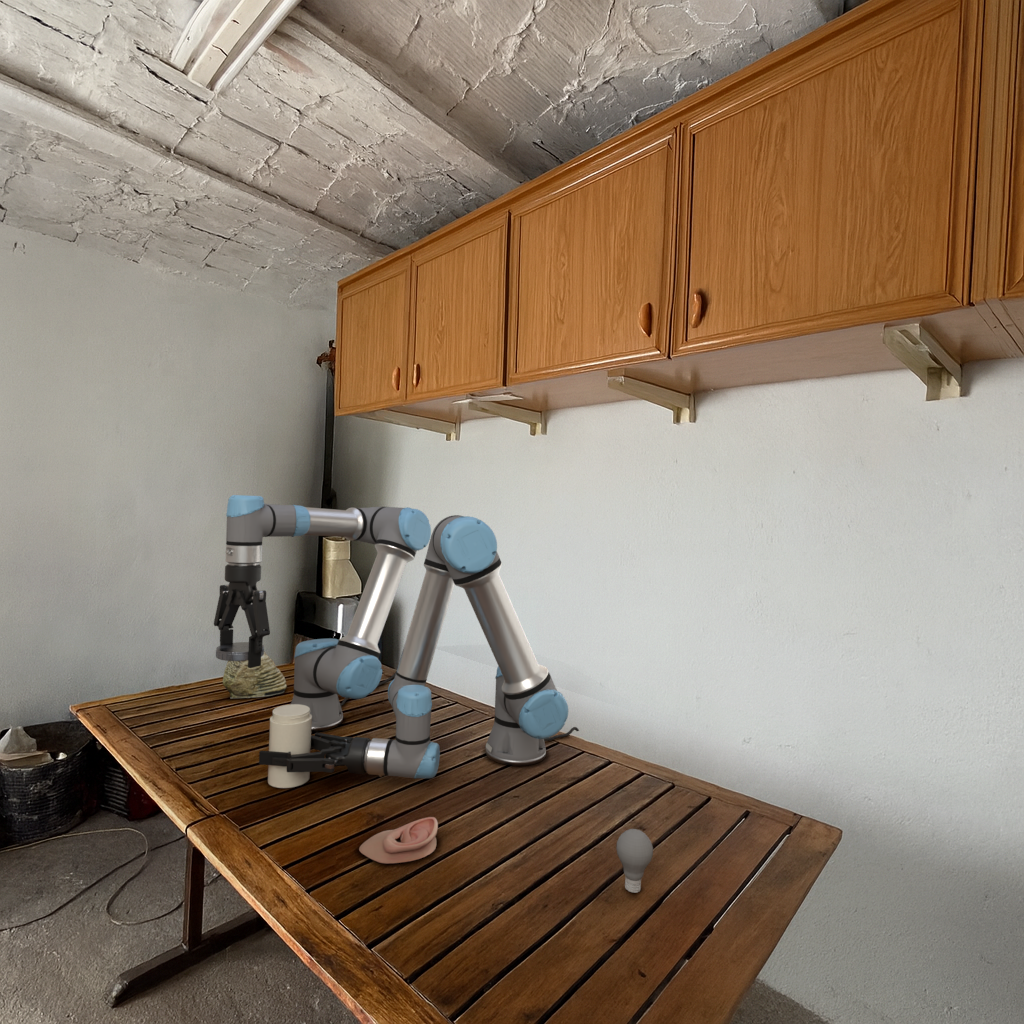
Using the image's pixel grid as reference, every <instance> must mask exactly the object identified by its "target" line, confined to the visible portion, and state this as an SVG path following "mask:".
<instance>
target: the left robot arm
mask: <svg viewBox="0 0 1024 1024" xmlns="http://www.w3.org/2000/svg"><path fill="white" fill-rule="evenodd" d="M225 516H226V531H225V532H226V533H225V534H226V535H225V562H226V563H227V564H226V565H224V581H225V582H227V583H228V584H220V585H219V595H218V601H217V605H216V610H215V615H214V620H213V626H214V627H217V628H218V630H219V646H220V645H224V644H229V643H234V625H233V623H234V621H235V619H236V616H237V614H238V611H239V609H240V608H241V610H242V611H244V614H245V618H246V622H247V625H248V629H249V633H250V636H249V637H248V642H249V652H248V668H253V667H257V666H261V652H262V645H263V643H264V642H263V639H264V637H266V636H267V637H268V636H270V635H271V629H270V623H269V614H268V607H267V591H266V590H259V589H258V588H257V584H258V582H260V581H261V579H262V565H261V564H260V563H261V562H263V538H268V537H269V538H270V537H274V538H275V537H278V538H279V537H290V538H295V537H301V536H315V537H317V536H319V537H337V538H339V537H340V538H344V539H346V540H347V541H352V542H355V541H356V542H360V543H361V542H362V543H367V544H370V545H374V548H375V550H376V553H377V554H376V557H375V559H374V562H373V565H372V567H371V570H370V573H369V575H368V578H367V581H366V583H365V586H364V588H363V592H362V594H361V597H360V598H359V602H358V604H357V607H356V609H355V612H354V615H353V617H352V620H351V623H350V625H349V628H348V632H347V634H346V635H345V636H342V637H341V638H339V639H337V638H331V637H329V638H317V639H316V638H315V639H308V640H304V641H300V642H299V643H298V644H297V645H296V646H295V650H294V651H295V652H294V655H293V658H294V672H293V695H292V696H293V697H292V699H291V702H290V704H300V705H305V706H308V707H309V708H310V714H311V715H312V731H311V733H319V732H325V731H329V730H332V729H335V728H337V727H339V726H340V725H342V723H343V722H344V714H343V709H342V706H344V705H345V704H346V702H347V701H348V700H349V699H352V700H361V699H365V698H366V697H367V696H369V695H371V694H372V693H373V692H374V691H375V690H376V688H377V687H379V686H381V685H384V684H386V683H388V682H389V681H392V680H393V679H394V678H395V675H396V672H397V670H396V671H395V672H394V673H393V674H392V675H391V676H390V677H388V678H387V679H385V680H382V677H383V669H382V662H381V661H380V659H379V658H380V655H381V650H380V648H379V645H378V644H379V642H380V638H381V636H382V633H383V630H384V628H385V624H386V621H387V620H388V617H389V614H390V611H391V608H392V606H393V602H394V599H395V598H396V594H397V591H398V588H399V586H400V583H401V580H402V578H403V574H404V572H405V569H406V567H407V564H408V563H409V562H412V561H414V560H415V557H416V554H417V552H419V551H421V550H423V549H424V548H426V547H427V546H428V545H429V542H430V539H431V535H432V526H431V524H430V520H429V518H428V516H427V515H426V514H425V513H424V511H422V510H420V509H418V508H412V507H398V506H396V507H395V506H371V507H348V508H347V509H333V508H319V507H311V506H310V507H309V506H303V505H298V504H297V505H296V504H277V503H265V499H264V497H263V496H262V495H245V494H244V495H241V494H232V495H230V496H229V498H228V501H227V506H226V514H225ZM381 680H382V681H381ZM339 696H341V697H342V698H344V699H343V700H342V702H340V699H339Z"/></svg>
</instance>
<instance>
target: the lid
mask: <svg viewBox="0 0 1024 1024" xmlns="http://www.w3.org/2000/svg"><path fill="white" fill-rule="evenodd" d="M248 652H249V641H239V642H238V641H237V642H233V643H229V644H224V645H220V644H219V645H218V646H217V647H216V649H215V658H216V659H217V660H221V661H226V662H228V661H245V660H248ZM264 652H265V646H264V644H262V652H261V657H262V656H263V655H264Z"/></svg>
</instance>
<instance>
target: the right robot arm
mask: <svg viewBox="0 0 1024 1024" xmlns="http://www.w3.org/2000/svg"><path fill="white" fill-rule="evenodd" d="M427 546H428V547H427V551H426V553H425V558H424V562H423V567H424V568H425V573H424V577H423V580H422V584H421V587H420V590H419V594H418V597H417V600H416V604H415V607H414V611H413V614H412V618H411V621H410V624H409V627H408V631H407V635H406V638H405V640H404V641H405V642H404V644H403V648H402V651H401V654H400V659H399V662H398V665H397V668H396V671H397V672H396V671H395V672H396V675H395V676H394V677H393V678H392V679H391V682H390V683H389V685H388V688H387V699H388V702H389V704H390V706H391V708H392V710H393V713H394V716H395V739H390V738H378V737H373V738H372V739H371V738H370V737H361V736H354V737H352V736H339V735H335V734H330V733H324V732H314V735H313V734H311V751H312V750H316V751H315V752H311V753H304V754H295V755H291V752H288V753H287V752H274V751H269V750H260V751H259V753H258V765H260V766H261V765H264V766H268V765H274V766H287V772H310V773H319V772H320V773H321V772H323V773H329V774H330V773H335V768H336V767H342V766H343V767H344V766H345V767H346V769H347V771H348V773H350V774H356V775H365V774H366V773H367V775H372V776H378V777H379V778H382V777H383V776H386V777H399V778H409V779H414V780H417V779H420V780H421V779H424V780H426V779H433V778H434V777H435V776H436V775H437V773H438V771H439V765H440V759H441V750H440V749H441V748H440V745H439V743H437V742H433V741H431V722H432V708H433V702H432V690H431V689H430V688H429V687H428V686H426V684H427V681H428V676H429V673H430V670H431V666H432V663H433V660H434V656H435V653H436V650H437V646H438V643H439V640H440V636H441V632H442V630H443V625H444V623H445V619H446V616H447V612H448V609H449V606H450V603H451V602H450V601H451V598H452V595H453V593H454V589H455V586H456V587H459V588H462V589H463V590H464V592H465V594H466V597H467V598H468V601H469V603H470V605H471V608H472V610H473V612H474V614H475V616H476V619H477V621H478V623H479V625H480V628H481V631H482V632H483V634H484V637H485V639H486V641H487V644H488V646H489V648H490V650H491V652H492V655H493V657H494V659H495V662H496V664H497V667H496V675H495V678H494V679H495V692H494V694H495V695H494V697H495V698H494V719H493V725H492V728H491V730H490V733H489V735H488V738H487V741H486V744H485V755H486V756H487V758H488V759H490V760H491V761H493V762H495V763H498V764H502V765H505V766H511V767H512V766H514V767H523V766H525V767H526V766H532V765H535V764H539V763H541V762H542V761H543V760H545V758H546V756H547V747H546V742H550V741H554V740H556V739H561V738H566V737H569V736H570V735H571V734H572V733H573V732H574V731H575V732H580V730H579V729H580V728H578V727H577V726H574V727H571V729H569V730H568V731H567V732H565V733H561V734H558V733H559V732H560V731H561V730H562V729H563V728H564V726H565V725H566V722H567V720H568V717H569V704H568V702H567V700H566V698H565V696H564V694H563V693H562V692H560V691H559V690H558V688H557V687H556V684H555V682H554V680H553V678H552V676H551V673H550V671H549V669H548V667H546V665H542V664H540V663H539V662H538V660H537V658H536V656H535V653H534V650H533V649H532V646H531V643H530V642H529V639H528V637H527V635H526V631H525V630H524V628H523V626H522V623H521V621H520V618H519V616H518V613H517V612H516V609H515V607H514V605H513V602H512V600H511V598H510V596H509V593H508V591H507V589H506V587H505V584H504V582H503V580H502V577H501V574H500V571H501V569H502V565H503V562H502V560H501V558H500V555H499V553H498V541H497V537H496V534H495V532H494V531H493V529H492V528H491V527H490V526H489V525H488V524H487V523H486V522H484V521H483V520H482V519H479V518H477V517H475V516H465V515H459V514H454V515H453V514H452V515H448V516H446V517H444V518H442V519H441V520H440V521H439V522H438V523H437V524H436V525H435V527H434V528H433V530H432V531H431V536H430V540H429V543H428V545H427Z"/></svg>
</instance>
